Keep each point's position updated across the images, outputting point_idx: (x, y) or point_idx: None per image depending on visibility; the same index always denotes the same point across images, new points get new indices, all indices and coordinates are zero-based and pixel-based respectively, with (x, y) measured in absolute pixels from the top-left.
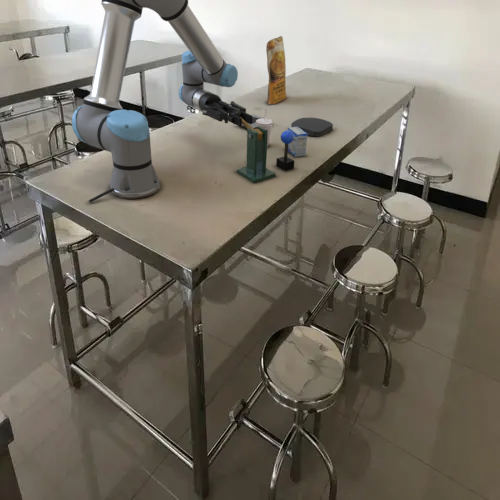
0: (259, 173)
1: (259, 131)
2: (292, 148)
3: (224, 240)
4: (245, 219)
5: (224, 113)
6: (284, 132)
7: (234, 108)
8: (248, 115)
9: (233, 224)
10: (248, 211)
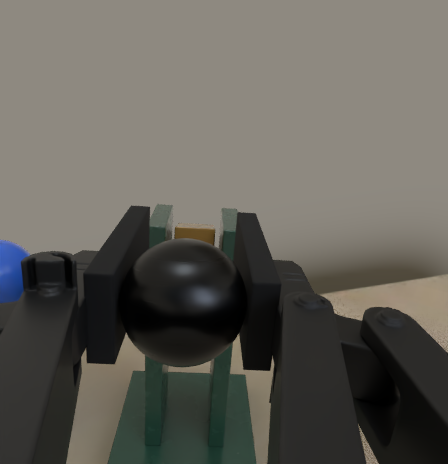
0: (189, 398)
1: (187, 225)
2: None
3: (426, 279)
4: (362, 295)
5: (331, 308)
6: (13, 249)
7: (41, 365)
8: (145, 216)
9: (396, 295)
10: (343, 307)
